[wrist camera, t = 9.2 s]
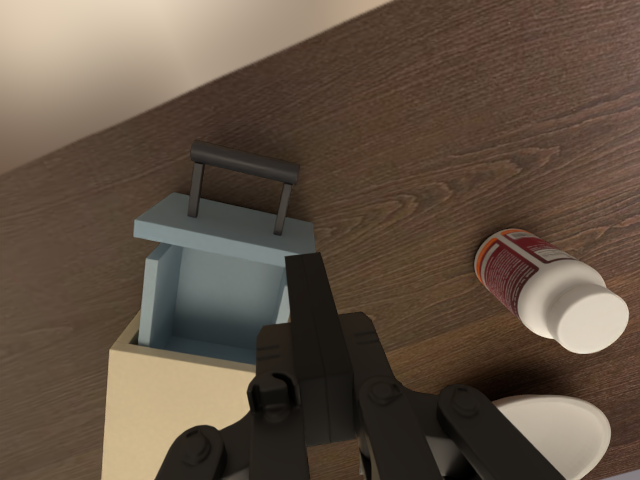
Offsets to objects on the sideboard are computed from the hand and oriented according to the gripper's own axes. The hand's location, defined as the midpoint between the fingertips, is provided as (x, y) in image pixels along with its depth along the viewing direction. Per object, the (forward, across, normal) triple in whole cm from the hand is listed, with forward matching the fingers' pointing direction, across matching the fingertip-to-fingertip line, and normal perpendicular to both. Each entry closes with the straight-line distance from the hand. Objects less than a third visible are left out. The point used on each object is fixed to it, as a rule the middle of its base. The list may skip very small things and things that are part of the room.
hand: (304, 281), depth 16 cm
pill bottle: (+14, +19, -9) cm, 26 cm away
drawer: (+15, -5, -6) cm, 17 cm away
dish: (+12, +20, -28) cm, 37 cm away
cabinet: (+15, -9, -18) cm, 25 cm away
